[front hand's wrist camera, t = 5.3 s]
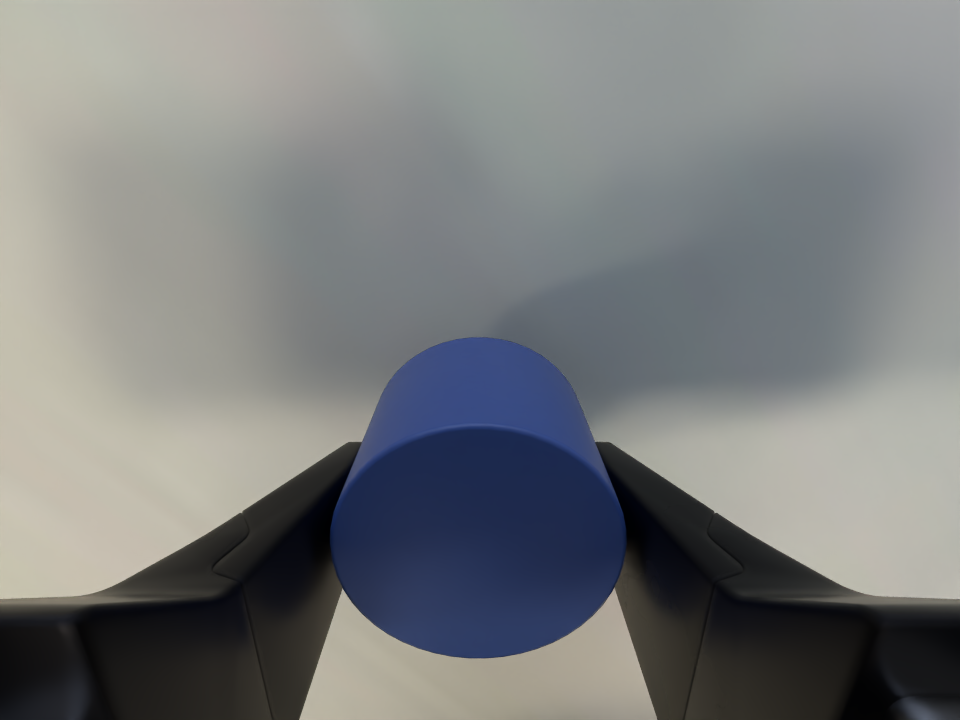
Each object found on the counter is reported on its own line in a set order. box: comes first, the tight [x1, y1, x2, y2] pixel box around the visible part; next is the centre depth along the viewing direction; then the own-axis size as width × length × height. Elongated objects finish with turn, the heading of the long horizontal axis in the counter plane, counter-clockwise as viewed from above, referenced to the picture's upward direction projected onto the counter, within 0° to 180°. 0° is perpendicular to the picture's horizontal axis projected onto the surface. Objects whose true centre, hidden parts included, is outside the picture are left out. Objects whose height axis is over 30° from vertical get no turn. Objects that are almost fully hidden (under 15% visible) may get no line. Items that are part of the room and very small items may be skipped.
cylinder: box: [330, 337, 627, 658], centre depth 11 cm, size 5×5×4 cm
